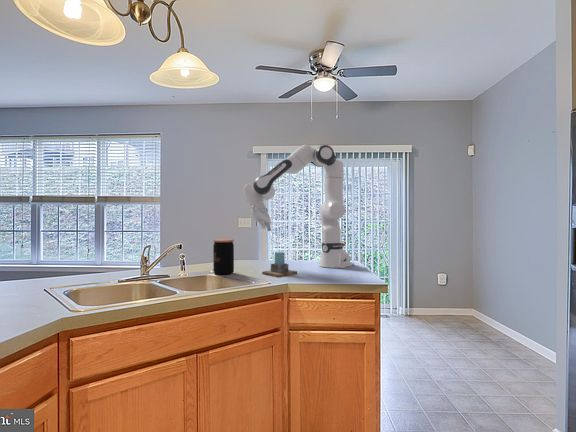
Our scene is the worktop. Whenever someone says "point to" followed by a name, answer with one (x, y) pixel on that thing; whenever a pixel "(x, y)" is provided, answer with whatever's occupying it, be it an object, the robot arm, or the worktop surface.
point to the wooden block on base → (279, 271)
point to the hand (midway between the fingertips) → (267, 229)
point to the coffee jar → (223, 256)
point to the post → (279, 258)
